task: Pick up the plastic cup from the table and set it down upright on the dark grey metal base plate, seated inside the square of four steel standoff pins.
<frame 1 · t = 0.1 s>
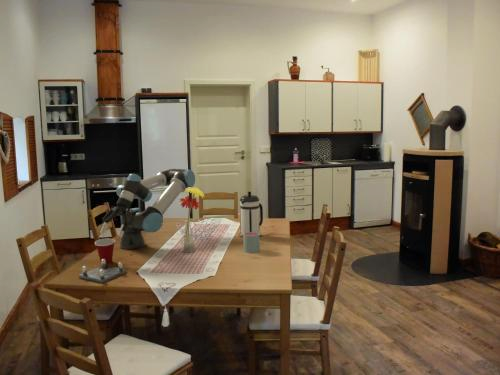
hand: (110, 235, 228), 15 cm above the table, tool tilted 35°, fingers open, 13 cm apart
mug: (252, 249, 249), on the table
coffee press: (251, 236, 279), on the table
chassis: (103, 275, 211), on the table
plastic cup: (106, 262, 231), on the table
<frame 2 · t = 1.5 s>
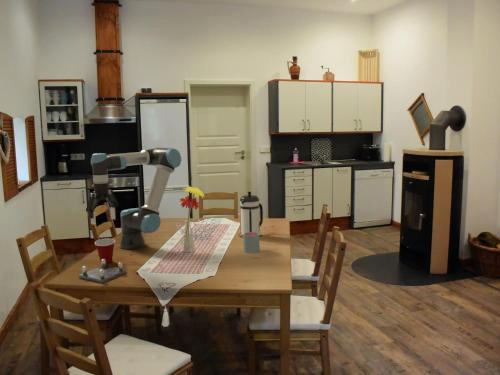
hand: (103, 221, 227), 23 cm above the table, tool pointing down, fingers open, 13 cm apart
nothing on the table moved.
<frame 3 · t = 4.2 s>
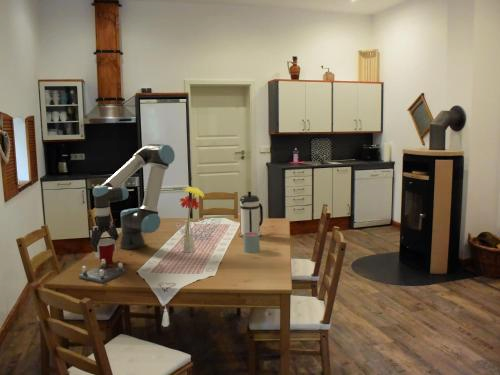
hand: (105, 254, 230), 4 cm above the table, tool pointing down, fingers closed on plastic cup, 11 cm apart
plastic cup: (106, 262, 231), on the table, touching gripper
everything else where it was.
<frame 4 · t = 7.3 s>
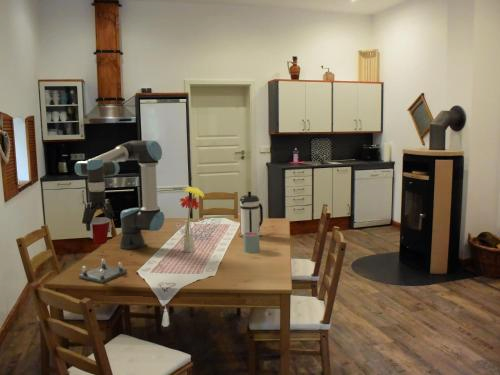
hand: (99, 234, 209), 21 cm above the table, tool pointing down, fingers closed on plastic cup, 11 cm apart
plastic cup: (100, 243, 210), point 16 cm above the table, touching gripper
everything else where it was.
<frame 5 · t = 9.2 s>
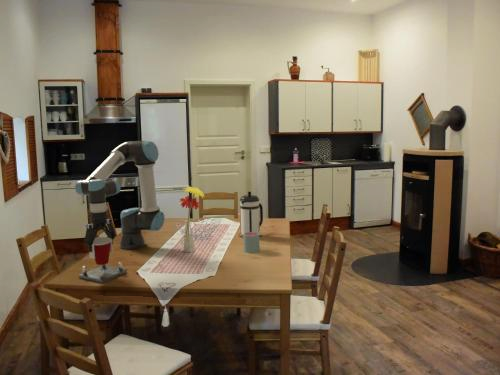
hand: (101, 254, 209), 11 cm above the table, tool pointing down, fingers closed on plastic cup, 11 cm apart
plastic cup: (102, 263, 210), point 6 cm above the table, touching gripper
everything else where it was.
when the fingers open (7 cm above the table, at t = 10.9 s): plastic cup drops 1 cm, resting on chassis.
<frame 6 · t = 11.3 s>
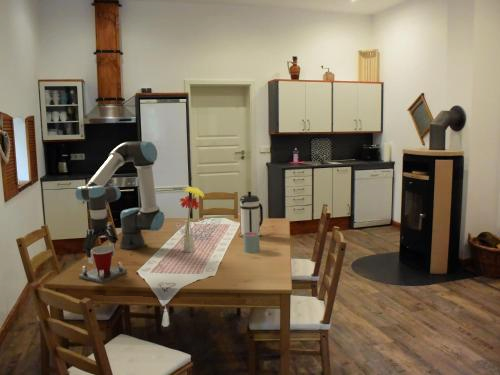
hand: (102, 259, 210), 8 cm above the table, tool pointing down, fingers open, 13 cm apart
plastic cup: (103, 272, 211), point 1 cm above the table, touching chassis
everything else where it was.
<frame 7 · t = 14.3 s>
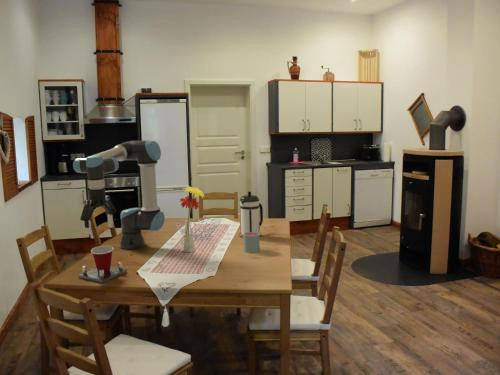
hand: (100, 230, 208), 23 cm above the table, tool pointing down, fingers open, 13 cm apart
nothing on the table moved.
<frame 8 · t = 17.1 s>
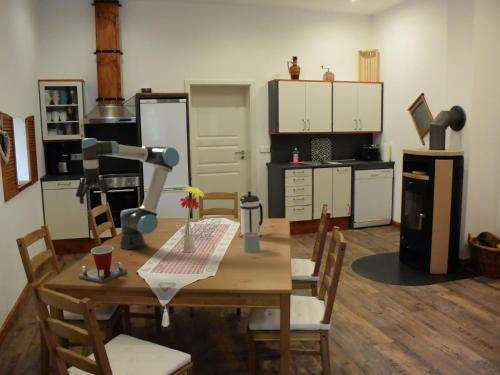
hand: (94, 207, 226), 31 cm above the table, tool pointing down, fingers open, 13 cm apart
nothing on the table moved.
at the end: plastic cup 0.7 cm from the target spot, point 1.3 cm above the table; plastic cup tilted 0°; the gripper is holding nothing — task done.
